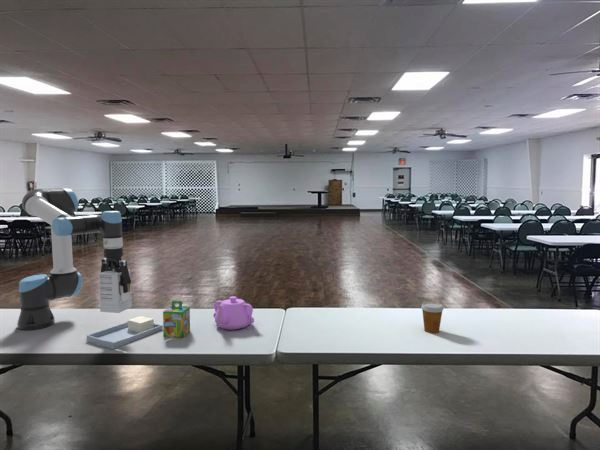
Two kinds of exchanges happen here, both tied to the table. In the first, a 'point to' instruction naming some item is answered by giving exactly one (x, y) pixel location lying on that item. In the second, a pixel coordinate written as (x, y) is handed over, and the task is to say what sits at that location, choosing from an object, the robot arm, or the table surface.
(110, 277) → the supplement box
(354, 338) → the table surface
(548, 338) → the table surface
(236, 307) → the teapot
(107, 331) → the blue-grey tray
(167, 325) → the chalk box
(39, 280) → the robot arm
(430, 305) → the disposable coffee cup
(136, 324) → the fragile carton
